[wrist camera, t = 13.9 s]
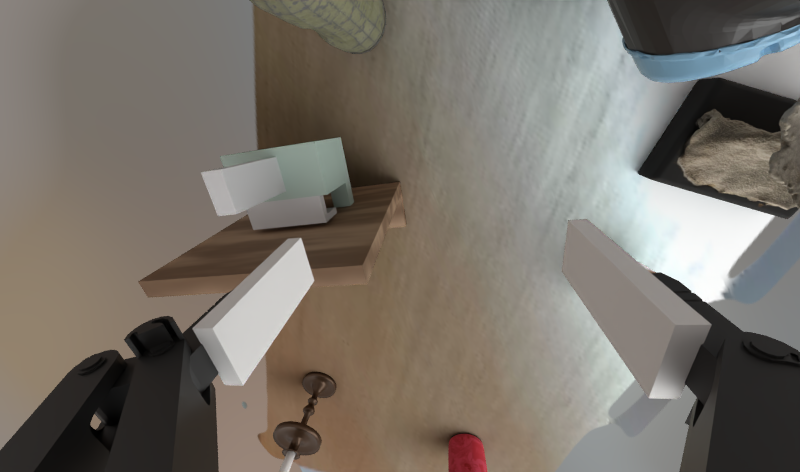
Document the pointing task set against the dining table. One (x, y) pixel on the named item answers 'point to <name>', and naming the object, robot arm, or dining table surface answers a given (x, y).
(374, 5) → the thermos
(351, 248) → the wall board
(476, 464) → the red flared column
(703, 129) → the coral
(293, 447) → the candlestick
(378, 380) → the dining table surface
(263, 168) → the pale green block
